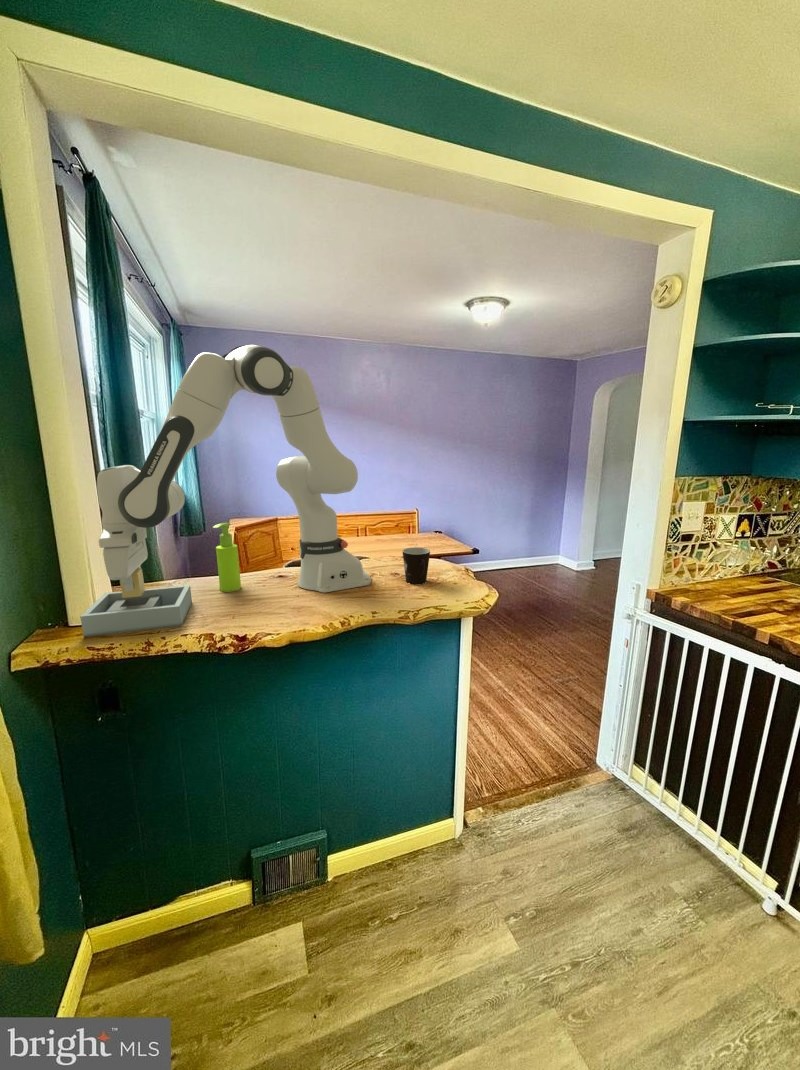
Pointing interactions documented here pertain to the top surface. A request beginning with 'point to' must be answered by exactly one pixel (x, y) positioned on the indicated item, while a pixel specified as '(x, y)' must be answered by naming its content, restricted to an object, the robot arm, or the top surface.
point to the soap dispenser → (227, 561)
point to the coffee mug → (416, 564)
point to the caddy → (137, 611)
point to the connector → (138, 583)
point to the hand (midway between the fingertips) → (133, 586)
